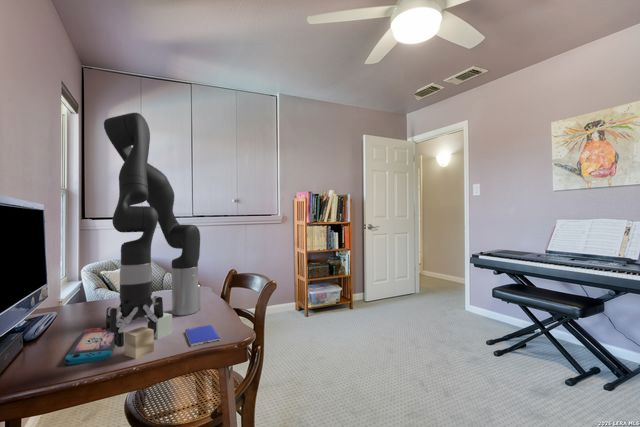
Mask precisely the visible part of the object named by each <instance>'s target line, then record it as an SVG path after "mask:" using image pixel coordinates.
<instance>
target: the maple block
mask: <svg viewBox="0 0 640 427" xmlns="http://www.w3.org/2000/svg"><path fill="white" fill-rule="evenodd" d="M154 340H155V338H154V330H153V329H149V328H147V326H146V327H144V326H140V327H137V328H133V329H132V330H128V331H125V332H124V346H123V348H124V356H126V357H130V358H133V359H136V360H137V359H140V358H141V357H144V356H147V355H149V354H151V353H154V351H155V341H154Z"/></svg>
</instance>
